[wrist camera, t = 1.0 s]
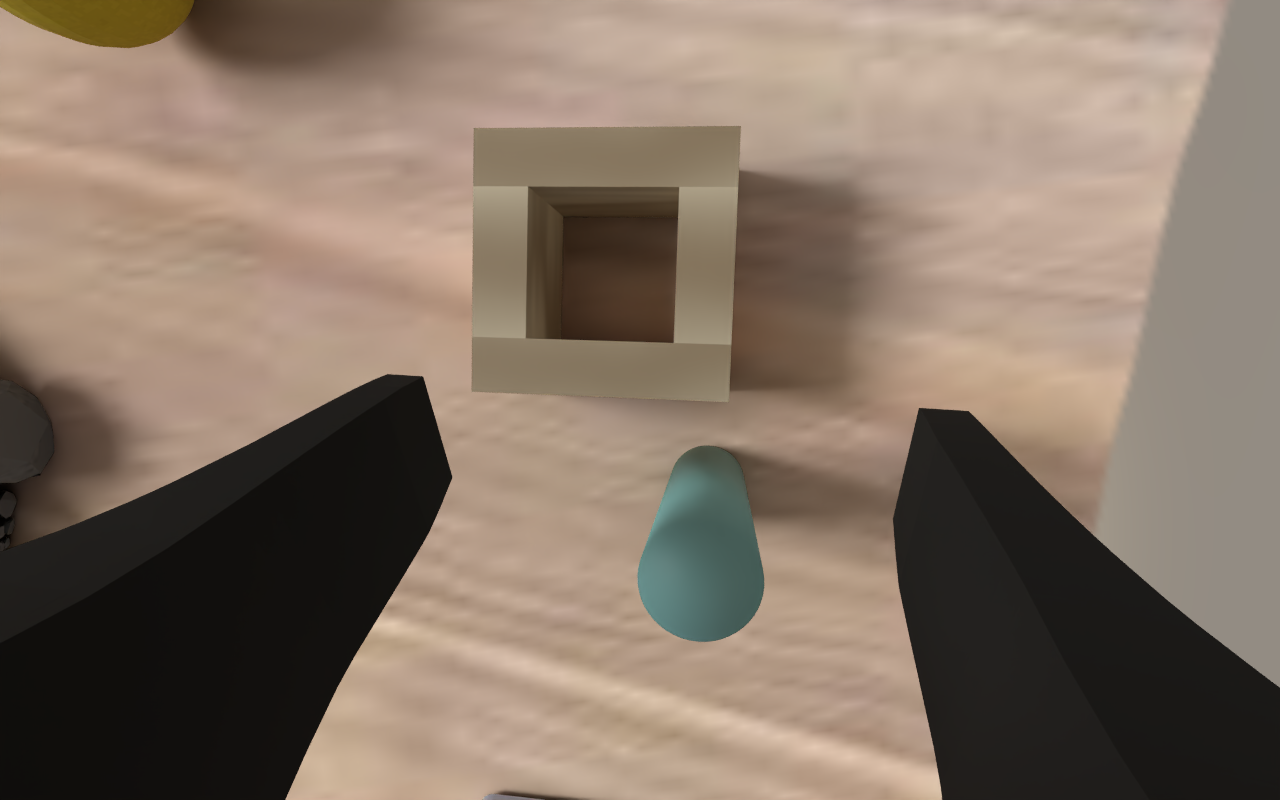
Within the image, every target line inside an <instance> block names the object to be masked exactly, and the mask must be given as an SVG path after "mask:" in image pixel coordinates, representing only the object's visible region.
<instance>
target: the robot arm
mask: <svg viewBox="0 0 1280 800" xmlns="http://www.w3.org/2000/svg"><path fill="white" fill-rule="evenodd" d="M451 479H452V474H451V471H450V467H449V464H448V460H447V457H446V454H445V450H444V447H443V443H442V440H441V436H440V433H439V430H438V426H437V423H436V419H435V416H434V412H433V409H432V406H431V402H430V399H429V395H428V392H427V388H426V385H425V381H424V378H423V377H422V376H407V375H391V374H387V375H385V376H382V377H380V378H377V379H375V380H372V381H370V382H368V383H366V384H364V385H362V386H360V387H358V388H355V389H353V390H351V391H349V392H347V393H345V394H344V395H342V396H340V397H338V398H336V399H334V400H332V401H330V402H328V403H326V404H324V405H322V406H321V407H319V408H317V409H315V410H313V411H311V412H309V413H307V414H305V415H304V416H302V417H300V418H298V419H296V420H294V421H292V422H290V423H289V424H287V425H285V426H283V427H281V428H279V429H277V430H275V431H273V432H272V433H270V434H268V435H266V436H264V437H262V438H260V439H258V440H257V441H255V442H253V443H251V444H249V445H247V446H245V447H243V448H241V449H239V450H237V451H235V452H233V453H231V454H229V455H227V456H225V457H223V458H221V459H219V460H217V461H215V462H213V463H211V464H209V465H207V466H205V467H202V468H200V469H198V470H196V471H194V472H192V473H190V474H188V475H186V476H184V477H182V478H180V479H178V480H176V481H174V482H172V483H170V484H168V485H166V486H163V487H161V488H159V489H157V490H155V491H153V492H150V493H148V494H146V495H144V496H141V497H139V498H137V499H135V500H132V501H130V502H128V503H126V504H123V505H121V506H118V507H116V508H114V509H111V510H109V511H106V512H104V513H102V514H99V515H97V516H94V517H92V518H90V519H87V520H85V521H82V522H80V523H77V524H75V525H72V526H70V527H67V528H65V529H62V530H60V531H57V532H54V533H52V534H49V535H46V536H43V537H41V538H38V539H35V540H32V541H30V542H27V543H24V544H21V545H18V546H16V547H13V548H10V549H7V550H5V551H2V552H0V800H285V799H286V797H287V794H288V792H289V790H290V788H291V785H292V783H293V781H294V779H295V776H296V774H297V772H298V770H299V767H300V765H301V763H302V761H303V758H304V756H305V754H306V752H307V749H308V747H309V745H310V743H311V741H312V739H313V737H314V735H315V733H316V731H317V729H318V727H319V724H320V722H321V720H322V718H323V716H324V714H325V712H326V710H327V708H328V706H329V704H330V702H331V699H332V697H333V695H334V693H335V691H336V689H337V687H338V685H339V683H340V682H341V680H342V678H343V676H344V674H345V673H346V671H347V669H348V667H349V665H350V663H351V662H352V660H353V658H354V656H355V655H356V653H357V651H358V650H359V648H360V646H361V645H362V643H363V642H364V640H365V638H366V637H367V635H368V633H369V632H370V630H371V628H372V627H373V625H374V623H375V622H376V620H377V619H378V617H379V615H380V614H381V612H382V610H383V609H384V607H385V605H386V604H387V602H388V600H389V599H390V597H391V596H392V594H393V592H394V591H395V589H396V587H397V586H398V584H399V582H400V581H401V579H402V578H403V576H404V574H405V573H406V571H407V569H408V567H409V566H410V564H411V562H412V561H413V559H414V557H415V556H416V554H417V552H418V551H419V549H420V547H421V546H422V544H423V542H424V540H425V539H426V537H427V535H428V533H429V531H430V529H431V527H432V525H433V523H434V520H435V518H436V516H437V514H438V511H439V509H440V507H441V504H442V502H443V499H444V497H445V494H446V492H447V489H448V487H449V484H450V482H451ZM893 525H894V538H895V551H896V562H897V573H898V583H899V589H900V594H901V599H902V604H903V608H904V613H905V618H906V623H907V627H908V632H909V637H910V641H911V646H912V650H913V655H914V659H915V664H916V668H917V673H918V677H919V682H920V687H921V691H922V696H923V700H924V705H925V709H926V714H927V718H928V723H929V727H930V732H931V737H932V741H933V746H934V751H935V756H936V762H937V768H938V773H939V779H940V785H941V792H942V800H1280V688H1279V687H1278V686H1277V685H1275V684H1274V683H1273V682H1271V681H1270V680H1269V679H1267V678H1266V677H1265V676H1263V675H1262V674H1261V673H1259V672H1258V671H1257V670H1256V669H1254V668H1253V667H1252V666H1250V665H1249V664H1248V663H1246V662H1245V661H1244V660H1242V659H1241V658H1240V657H1239V656H1237V655H1236V654H1235V653H1233V652H1232V651H1231V650H1230V649H1228V648H1227V647H1225V646H1224V645H1223V644H1222V643H1220V642H1219V641H1218V640H1217V639H1215V638H1214V637H1213V636H1211V635H1210V634H1209V633H1207V632H1206V631H1205V630H1204V629H1202V628H1201V627H1200V626H1198V625H1197V624H1196V623H1194V622H1193V621H1192V620H1191V619H1190V618H1188V617H1187V616H1186V615H1185V614H1183V613H1182V612H1181V611H1180V610H1179V609H1177V608H1176V607H1175V606H1174V605H1172V604H1171V603H1170V602H1169V601H1168V600H1166V599H1165V598H1164V597H1163V596H1162V595H1160V594H1159V593H1158V592H1157V591H1156V590H1155V589H1154V588H1152V587H1151V586H1150V585H1149V584H1148V583H1147V582H1145V581H1144V580H1143V579H1142V578H1141V577H1140V576H1139V575H1137V574H1136V573H1135V572H1134V571H1133V570H1132V569H1130V568H1129V567H1128V566H1127V565H1126V564H1125V563H1123V561H1121V560H1120V559H1119V558H1118V557H1117V556H1116V555H1114V554H1113V553H1112V552H1111V551H1110V550H1109V549H1108V548H1107V547H1106V546H1105V545H1103V544H1102V543H1101V542H1100V541H1099V540H1098V539H1097V538H1096V537H1095V536H1094V535H1093V534H1091V533H1090V532H1089V531H1088V530H1087V529H1086V528H1085V527H1084V526H1083V525H1082V524H1081V523H1080V522H1079V521H1078V520H1077V519H1075V518H1074V517H1073V516H1072V515H1071V514H1070V513H1069V512H1068V511H1067V510H1066V509H1065V508H1064V507H1063V506H1062V505H1061V504H1060V503H1059V502H1058V501H1057V500H1056V499H1055V498H1054V497H1053V496H1052V495H1051V494H1050V493H1049V492H1048V491H1047V490H1046V489H1045V488H1044V487H1043V486H1042V485H1041V484H1040V483H1039V482H1038V481H1037V480H1036V479H1035V478H1034V477H1033V476H1032V475H1031V474H1030V473H1029V472H1028V471H1027V470H1026V469H1025V468H1024V467H1023V466H1022V465H1021V464H1020V463H1019V462H1018V461H1017V460H1016V459H1015V458H1014V457H1013V456H1012V455H1011V454H1010V453H1009V452H1008V451H1007V450H1006V449H1005V448H1004V447H1003V446H1002V445H1001V444H1000V442H999V441H998V440H997V439H996V438H995V437H994V436H993V435H992V434H991V433H990V432H989V431H988V430H987V429H986V428H985V427H984V426H983V425H982V424H981V423H980V422H979V421H978V420H977V419H976V418H975V417H974V416H973V415H972V414H971V413H970V412H969V411H958V410H942V409H926V408H919V410H918V415H917V419H916V423H915V427H914V432H913V436H912V440H911V445H910V449H909V453H908V457H907V462H906V466H905V470H904V474H903V479H902V483H901V487H900V492H899V496H898V500H897V504H896V509H895V513H894V517H893ZM483 800H543V799H534V798H525V797H517V796H508V795H499V794H489V795H487V796H485V797H484V798H483Z"/></svg>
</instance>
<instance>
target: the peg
mask: <svg viewBox="0 0 1280 800" xmlns="http://www.w3.org/2000/svg"><path fill="white" fill-rule="evenodd" d="M638 588H639V593H640V596H641V599H642V602H643V604H644V606H645V608H646V610H647V611H648V613H649V614H650V615H651V617H652V618H653V619H654V620H655V621H656V622H657V623H658V624H659V625H660V626H661V627H662V628H664V629H665V630H666V631H668V632H670V633H672V634H673V635H675V636H678V637H680V638H683V639H687V640H691V641H699V642H707V641H715V640H719V639H723V638H726V637H728V636H731V635H732V634H734V633H736V632H738V631H739V630H740V629H742V628H743V627H744V626H745V625H746V624H747V623H748V622H749V621H750V620H751V619H752V618H753V616H754V615H755V613H756V611H757V610H758V608H759V605H760V603H761V600H762V596H763V591H764V574H763V568H762V563H761V558H760V553H759V548H758V543H757V539H756V534H755V529H754V524H753V519H752V514H751V509H750V504H749V500H748V495H747V490H746V485H745V480H744V475H743V472H742V469H741V467H740V465H739V463H738V461H737V460H736V459H735V458H734V457H733V456H732V455H731V454H730V453H728V452H727V451H725V450H723V449H721V448H718V447H714V446H700V447H696V448H693V449H691V450H689V451H687V452H686V453H684V454H683V455H682V456H681V457H680V458H679V459H678V461H677V462H676V464H675V466H674V468H673V470H672V473H671V476H670V479H669V482H668V484H667V487H666V490H665V493H664V496H663V498H662V501H661V504H660V507H659V510H658V512H657V515H656V518H655V521H654V523H653V526H652V529H651V532H650V535H649V537H648V540H647V543H646V546H645V549H644V551H643V554H642V557H641V560H640V564H639V568H638Z"/></svg>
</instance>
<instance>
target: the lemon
mask: <svg viewBox="0 0 1280 800" xmlns="http://www.w3.org/2000/svg"><path fill="white" fill-rule="evenodd" d="M193 3H194V0H0V7H1V8H3V9H5V10H6V11H8V12H10V13H11V14H13V15H15V16H17V17H18V18H20V19H22V20H24V21H26V22H28V23H30V24H32V25H35V26H37V27H39V28H41V29H44V30H47V31H50V32H52V33H55V34H58V35H61V36H64V37H66V38H69V39H72V40H75V41H78V42H82V43H85V44H90V45H95V46H102V47H120V48H132V47H139V46H143V45H147V44H151V43H154V42H157V41H159V40H161V39H163V38H165V37H166V36H168V35H170V34H172V33H173V32H174V31H175V30H176V29H177V28H178V27H179V26H180V25H181V24H182V23H183V22H184V21H185V19H186V18H187V16H188V14H189V13H190V11H191V9H192V7H193Z"/></svg>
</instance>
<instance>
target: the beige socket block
mask: <svg viewBox="0 0 1280 800" xmlns="http://www.w3.org/2000/svg"><path fill="white" fill-rule="evenodd" d="M740 133H741V126H707V127H574V128H474V164H473V286H472V392H492V393H517V394H541V395H566V396H590V397H614V398H639V399H663V400H688V401H712V402H729V388H730V365H731V341H732V318H733V295H734V272H735V249H736V226H737V202H738V179H739V156H740ZM563 217H678V237H677V265H676V293H675V321H674V343H659V342H626V341H594V340H561V316H562V266H563Z"/></svg>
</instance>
